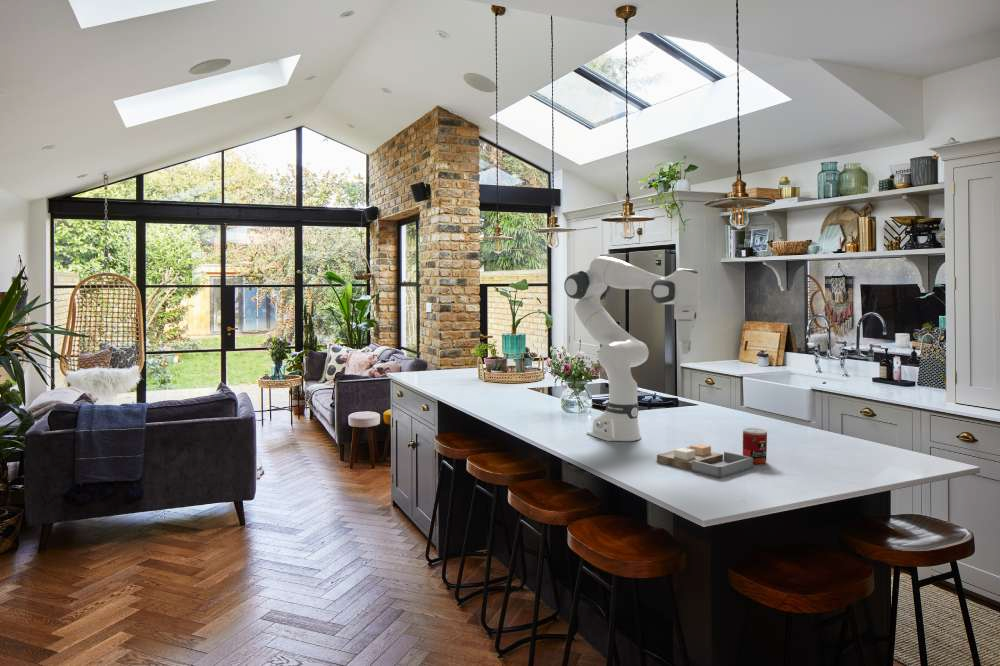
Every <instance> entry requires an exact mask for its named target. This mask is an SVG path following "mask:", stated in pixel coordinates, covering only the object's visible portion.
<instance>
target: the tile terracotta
mask: <svg viewBox="0 0 1000 666" xmlns="http://www.w3.org/2000/svg"><path fill="white" fill-rule="evenodd" d="M689 447H690V449H692V450H695V454H697V455H702V456H703V455H706V454H710V453H711V452H712V446H711V445H708V444H707V445H706V444H703V443H702V444H701V443H696V444H693V445H692V444H691V445H689Z"/></svg>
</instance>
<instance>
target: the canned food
mask: <svg viewBox="0 0 1000 666" xmlns="http://www.w3.org/2000/svg"><path fill="white" fill-rule="evenodd" d="M767 443H768V431H767V430H765V429H762V428H757V427H756V428H755V427H747V428H743V430H742V455H743V456H748V457H753V466H754V465H755V466H760V465H765V464H766V463H767V449H768V447H767V446H768V445H767Z"/></svg>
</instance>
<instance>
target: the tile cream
mask: <svg viewBox="0 0 1000 666" xmlns="http://www.w3.org/2000/svg"><path fill="white" fill-rule="evenodd" d="M673 451H674V457H676V458H680V459H685V460H688V459H692V458H695V450H692V449H688V448H686V447H679V448H676V449H673Z"/></svg>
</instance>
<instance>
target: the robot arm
mask: <svg viewBox="0 0 1000 666" xmlns="http://www.w3.org/2000/svg"><path fill="white" fill-rule="evenodd" d="M699 273H700V272H699V271H697V270H695V269H692V268H685V267H679V268H676V270H675V271H674V272H672V273H670V274H669V275H666V276H662V275H659V274H657V273H652V272H649V271H646V270H645V269H642V268H641V267H638V266H635V265H633V264H631V263H629V262H627V261H624V260H621V259H619V258H615V257H609V256H597V257H595V258H593V260H591V262H590V264H589V268H588V270H585V271H583V270H580V271H577V272H574V273H572V274H570V275H568V276H567V277H566V278H565V281H564V286H563V287H564V292H565V293H566V295H567V296H568V298H570V299H574V300H577V302H576V303H575V306H574V311H575V313H576V315H577V317H578V319H579V321H580V322H581V323H582V324H581V325H583V326H584V328H585V330H586V331H587V332H588V333H589V334H590V336H591V337H592V338H593V339H594V340H595V342H596V343H598V344H600V345H602V346H601V347H600V348H599V349H598V352H597V359H598V363H599V364H600V365H601V367H602V368H603V369H604V371H605V373H606V375H607V380H608V393H609V394H608V398H609V400H608V401H609V402H605V403H604V404H603V406H604V407H606V408H605V411H603V412H602V413H601V414H600V415H599V416H597V417H595V418H594V419H593V423H592V429H589V430H587V431H586V435H589V436H592V437H596V438H598V439H601V440H604V441H608V442H612V441H613V442H614V441H615V442H616V441H617V442H632V441H638V440H640V439H641V438H642V436H641V432H640V427H639V426H640V425H639V418H638V415H639V402H638V383H637V381H636V380H635V379H634V377H633V376H632V372H631V371H632V370H631V368H634V367H635V368H636V367H638V366H640V365H642V364H644V363H645V362H647V360H648V358H649V354H650V352H649V348H648V346H647V344H646V343H645V342H643V341H641V340H638V339H637V338H635V337H634V336H632V335H631V334H630V333H629V332H628V331H626V330H625V329H624V328H622V326H620V325H619V324H618V323H617V322H616V321H615V320H614V318H613V317H612V316H611V315H610V313H609V312H608V311H607V310H606V309H605V308H604V306H603V305H602V303H601V300H604V299H606V297H607V294H608V293H609V292H610V291H611V288H614V289H619V290H632V289H633V290H635V289H636V290H637V289H643V290H650V294H651V295H650V296H651V298H652V300H653V301H654V302H655V303H656V304H660V305H674V308H673V310H674V312H673V313H674V314H673V315H674V316H673V317H674V319H675V320H676V326H677V327H676V328H677V337H678V341H679V342H681V348H682V350H681V351H682V352H681V353H682V355H687V354H688V353H689V352H690V351H691V348H692V340H693V339H694V338H695V324H697V320H700V319H701V303H700V296H701V279H700V277H701V276H700V274H699Z"/></svg>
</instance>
